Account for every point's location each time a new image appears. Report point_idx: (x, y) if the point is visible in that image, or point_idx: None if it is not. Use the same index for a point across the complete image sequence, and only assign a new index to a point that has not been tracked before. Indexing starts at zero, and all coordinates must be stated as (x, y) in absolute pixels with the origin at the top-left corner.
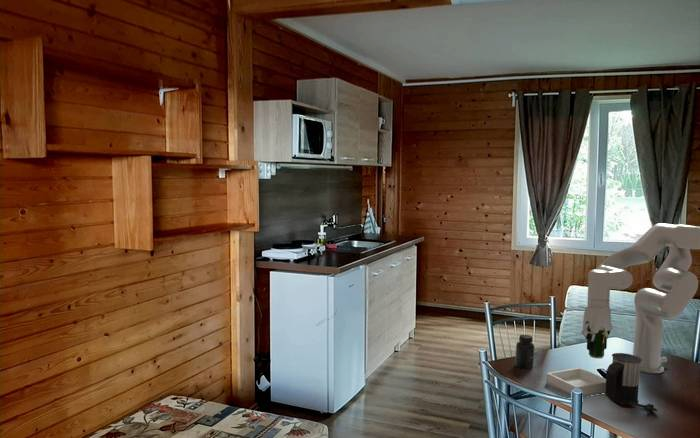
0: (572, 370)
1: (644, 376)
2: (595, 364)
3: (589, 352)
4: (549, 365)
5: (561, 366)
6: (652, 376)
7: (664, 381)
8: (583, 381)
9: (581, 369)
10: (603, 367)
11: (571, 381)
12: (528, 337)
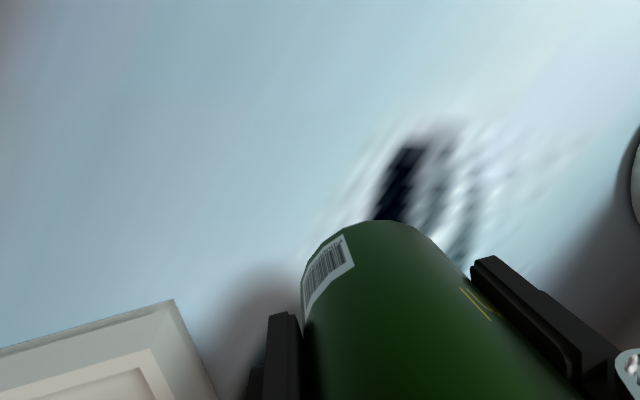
0: (63, 386)
1: (592, 278)
2: (456, 51)
3: (301, 295)
4: (35, 29)
5: (143, 67)
6: (633, 279)
7: (627, 340)
8: (147, 396)
9: (146, 378)
10: (470, 120)
11: (62, 397)
12: None
